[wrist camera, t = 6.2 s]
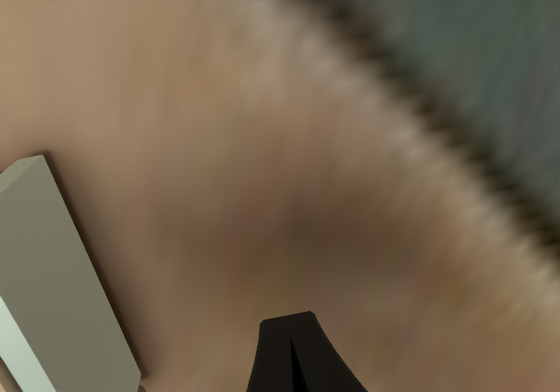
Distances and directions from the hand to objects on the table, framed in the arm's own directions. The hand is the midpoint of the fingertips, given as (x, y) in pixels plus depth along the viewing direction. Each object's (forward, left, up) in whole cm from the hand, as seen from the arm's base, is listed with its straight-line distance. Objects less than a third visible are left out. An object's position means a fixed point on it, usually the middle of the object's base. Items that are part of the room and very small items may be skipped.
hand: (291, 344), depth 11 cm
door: (-1, +7, -5) cm, 9 cm away
